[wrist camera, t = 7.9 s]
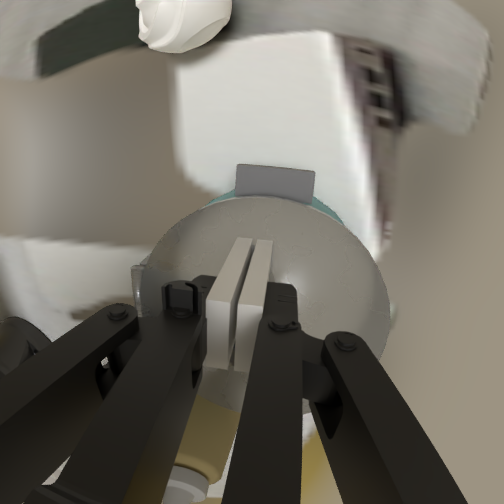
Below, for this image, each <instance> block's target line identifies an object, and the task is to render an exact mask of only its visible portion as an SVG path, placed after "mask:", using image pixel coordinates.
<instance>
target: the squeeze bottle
mask: <svg viewBox="0 0 504 504" xmlns="http://www.w3.org/2000/svg"><path fill="white" fill-rule="evenodd" d="M240 415H241V413H239V412H235V411H232V410H229V409H227V408H224V407H221V406H219V405H217V404H214V403H212V402H210V401H208V400H206V399H205V398H203V397H201V396H199V395H198V394H197V395H196V398H195V401H194V404H193V407H192V410H191V413H190V416H189V419H188V422H187V425H186V428H185V431H184V434H183V437H182V440H181V444H180V447H179V450H178V453H177V456H176V459H175V462H174V465H173V468H172V471H171V474H170V477H169V481H168V484H167V487H166V490H165V493H164V496H163V504H191V502H200V501H203V500H204V499H206V496H207V491H208V487H209V485H211V484H214V483H216V482H217V481H219V480H220V479H221V477H222V474H223V471H224V468H225V465H226V462H227V459H228V456H229V453H230V450H231V447H232V443H233V440H234V437H235V434H236V431H237V428H238V425H239V420H240Z"/></svg>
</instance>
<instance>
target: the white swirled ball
mask: <svg viewBox="0 0 504 504" xmlns="http://www.w3.org/2000/svg"><path fill="white" fill-rule="evenodd" d="M136 6H137V7H138V8H139V9H140V13H139V28H140V33H139V38H140V39H141V40H142V41H144V42H145V43H147V44H148V47H149V48H150V49H153V50H156V51H160V52H166V53H183V52H186V51H188V50H190V49H193V48H196V47H199V46H201V45H203V44H205V43H206V42H208V41H209V40H211V39H212V38H213V37H214V36H215V35H216V34H217V33H218V32H219V31H220V30H221V29H222V28H223V27H224V26H225V25H226V24H227V23H228V21H229V19H230V15H231V9H232V0H136Z"/></svg>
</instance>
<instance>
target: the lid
mask: <svg viewBox="0 0 504 504" xmlns="http://www.w3.org/2000/svg"><path fill="white" fill-rule="evenodd" d="M237 237H243V238H253V243H252V255H251V259H252V256H253V253H254V249H255V246H256V243H257V239H263V240H272V241H273V244H272V254H271V264H270V273H269V282H277V283H286V284H292V285H293V286H294V287H295V289H296V290H297V303H298V322H300V324H301V327H302V330H303V331H304V332H305V333H306V334H308V335H310V336H313V337H315V338H318V339H322V340H324V339H325V337H326V335H328V334H330V333H331V332H336V331H347V332H351V333H354V334H356V335H358V336H360V337H361V338H362V339H363V340H364V341H365V342H366V343H367V345H368V346H369V348H370V349H371V351H372V352H373V354H374V355H375V357H376V358H377V360H378V361H379V360H380V357H381V355H382V353H383V351H384V348H385V345H386V342H387V338H388V334H389V327H390V303H389V298H388V294H387V289H386V286H385V283H384V281H383V278H382V276H381V273H380V271H379V269H378V267H377V265H376V263H375V261H374V260H373V258H372V256H371V255H370V253H369V251H368V250H367V249H366V248H365V246H364V245H363V244H362V243H361V241H360V240H359V239H358V238H357V237H356V236H355V235H354V234H353V233H352V232H351V231H350V230H349V229H347V228H346V227H345V226H344V225H343V224H341V223H340V222H338V221H337V220H335V219H334V218H333V217H331V216H330V215H328V214H326V213H324V212H322V211H320V210H318V209H316V208H314V207H312V206H309V205H306V204H303V203H300V202H297V201H294V200H290V199H285V198H280V197H274V196H256V195H253V196H242V197H234V198H230V199H225V200H221V201H217V202H215V203H212V204H210V205H207V206H205V207H202V208H201V209H199V210H197V211H195V212H194V213H192V214H190V215H189V216H187V217H185V218H183V219H182V220H181V221H179V222H178V223H177V224H176V225H174V226H173V227H172V228H171V229H170V230H169V231H168V232H167V233H166V234H165V235H164V236H163V237H162V238H161V240H160V241H159V242H158V244H157V245H156V247H155V248H154V250H153V251H152V253H151V255H150V257H149V259H148V262H147V264H146V266H143V265H135V266H132V267H131V276H132V288H133V298H134V307H135V308H136V310H137V311H138V317H157V316H158V315H159V314H160V312H161V311H162V309H163V308H162V291H161V286H163V285H164V284H165V283H168V282H171V281H177V280H187V281H192V280H193V279H194V278H196V277H198V276H199V275H209V276H218V274H219V272H220V271H221V269H222V267H223V265H224V263H225V261H226V259H227V257H228V255H229V253H230V251H231V249H232V247H233V245H234V243H235V241H236V239H237ZM235 343H236V339H235V342H234V346H233V350H232V354H231V357H230V361H229V365H228V369H227V370H226V369H219V368H213V367H207V366H206V357H205V360H204V362H203V377H202V380H201V383H200V386H199V389H198V392H197V394H198V395H199V396H201V397H203V398H205V399H206V400H208V401H210V402H212V403H214V404H217V405H219V406H221V407H224V408H227V409H229V410H232V411H235V412H239V413H241V410H242V405H243V401H244V396H245V391H246V386H247V381H248V376H249V373H248V372H240V371H234V360H235ZM310 412H311V410H310V407H309V402H308V400H306V399H303V414H306V413H310Z"/></svg>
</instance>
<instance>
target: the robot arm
mask: <svg viewBox="0 0 504 504" xmlns="http://www.w3.org/2000/svg"><path fill="white" fill-rule="evenodd" d="M252 243H253V238H243V237H237V239H236V241H235V243H234V245H233V247H232V249H231V251H230V253H229V255H228V257H227V259H226V261H225V263H224V265H223V267H222V269H221V271H220V272H219V274H218V276H209V275H199V276H198V277H196V278H194V279H193V280H192V281H187V280H177V281H171V282H168V283H165V284H164V285H163V286H161V291H162V308H163V309H162V311H161V312H160V314H159V315H158V316H157V317H138V311H137V310H136V308H135V307H133V306H131V305H128V304H123V303H116V304H113V305H109V306H107V307H105V308H103V309H101V310H100V311H98V312H97V313H95V314H94V315H92V316H91V317H89V318H88V319H86V320H85V321H83V322H82V323H80V324H79V325H77V326H76V327H74V328H73V329H71V330H70V331H68V332H67V333H66V334H64V335H63V336H61V337H60V338H58V339H57V340H55V341H54V342H52V343H51V342H50V341H49V340H48V339H47V338H46V337H45V336H44V335H43V334H42V333H41V332H40V331H39V330H38V329H37V328H35V327H34V326H33V325H31V324H30V323H28V322H27V321H25V320H23V319H20V318H16V317H10V318H7V319H6V320H5V321H3V322H2V323H1V324H0V504H22V503H23V502H24V503H23V504H161V502H162V499H163V496H164V493H165V490H166V487H167V484H168V481H169V477H170V474H171V471H172V468H173V465H174V462H175V459H176V456H177V453H178V450H179V447H180V444H181V440H182V437H183V434H184V431H185V428H186V425H187V422H188V419H189V416H190V413H191V410H192V407H193V404H194V401H195V398H196V395H197V392H198V389H199V386H200V383H201V380H202V377H203V362H204V360H205V357H206V366H207V367H213V368H219V369H226V370H227V369H228V365H229V361H230V357H231V354H232V350H233V346H234V342H235V339H236V343H235V360H234V371H240V372H248V373H249V376H248V381H247V386H246V391H245V396H244V401H243V405H242V410H241V415H240V420H239V425H238V429H237V434H236V439H235V443H234V448H233V453H232V457H231V462H230V466H229V471H228V476H227V480H226V485H225V489H224V493H223V498H222V502H221V504H300V498H301V470H302V421H303V399H306V400H308V402H309V407H310V410H311V413H312V416H313V419H314V422H315V424H316V427H317V430H318V433H319V436H320V439H321V441H322V444H323V447H324V450H325V453H326V455H327V458H328V461H329V464H330V467H331V470H332V473H333V476H334V478H335V481H336V484H337V487H338V490H339V493H340V495H341V498H342V501H343V504H468V503H467V501H466V500H465V498H464V496H463V494H462V493H461V491H460V489H459V487H458V486H457V484H456V482H455V481H454V479H453V477H452V475H451V474H450V473H449V470H448V469H447V467H446V465H445V464H444V462H443V460H442V459H441V457H440V456H439V454H438V452H437V451H436V449H435V448H434V446H433V444H432V443H431V441H430V439H429V438H428V436H427V435H426V433H425V432H424V430H423V428H422V427H421V425H420V424H419V422H418V420H417V419H416V417H415V416H414V414H413V413H412V411H411V410H410V408H409V406H408V405H407V403H406V402H405V400H404V399H403V397H402V396H401V394H400V393H399V391H398V390H397V388H396V387H395V385H394V384H393V382H392V381H391V379H390V377H389V376H388V374H387V373H386V371H385V370H384V368H383V367H382V366H381V364H380V363H379V361H378V360H377V358H376V357H375V355H374V354H373V352H372V351H371V349H370V348H369V346H368V345H367V343H366V342H365V341H364V340H363V339H362V338H361V337H360V336H358V335H356V334H354V333H351V332H347V331H336V332H331V333H330V334H328V335H326V337H325V339H324V340H322V339H318V338H315V337H313V336H310V335H308V334H306V333H305V332H304V331H303V330H302V327H301V324H300V322H298V303H297V290H296V289H295V287H294V286H293V285H292V284H286V283H277V282H269V273H270V264H271V254H272V244H273V241H272V240H263V239H257V243H256V246H255V249H254V253H253V256H252V259H251V255H252ZM105 357H107V358H108V363H107V364H106V365H104V366H102V364H101V361H102V360H103V359H104V358H105ZM70 455H71V456H70ZM69 456H70V458H69V460H68V461H67V463H66V465H65V467H64V468H63V470H62V472H61V474H60V476H59V477H58V479H57V480H56V481H55V483H53V484H51V485H42V483H43V482H45V480H47V478H48V477H50V476H51V475H52V474H53V473H54V472H55V471H56V470H57V469H58V468H59V467H60V466H61V464H62V463H63V462H64V461H65V460H66V459H67V458H68V457H69Z"/></svg>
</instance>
